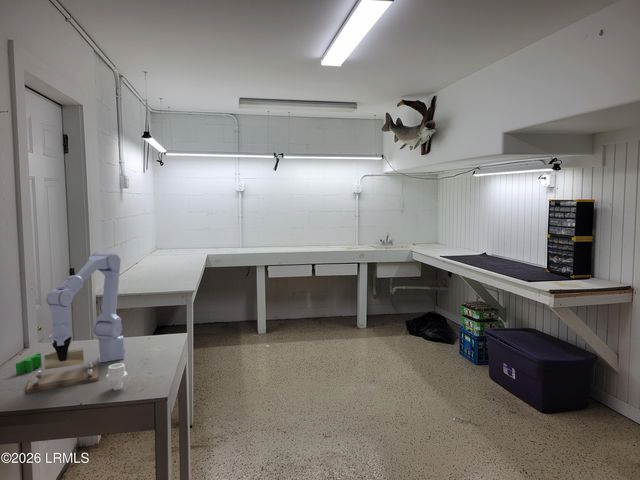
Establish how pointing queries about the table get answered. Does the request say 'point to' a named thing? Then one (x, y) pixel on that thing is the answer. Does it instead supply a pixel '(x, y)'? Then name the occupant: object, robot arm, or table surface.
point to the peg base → (62, 378)
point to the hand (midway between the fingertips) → (63, 359)
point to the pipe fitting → (116, 375)
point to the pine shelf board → (72, 359)
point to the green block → (29, 364)
